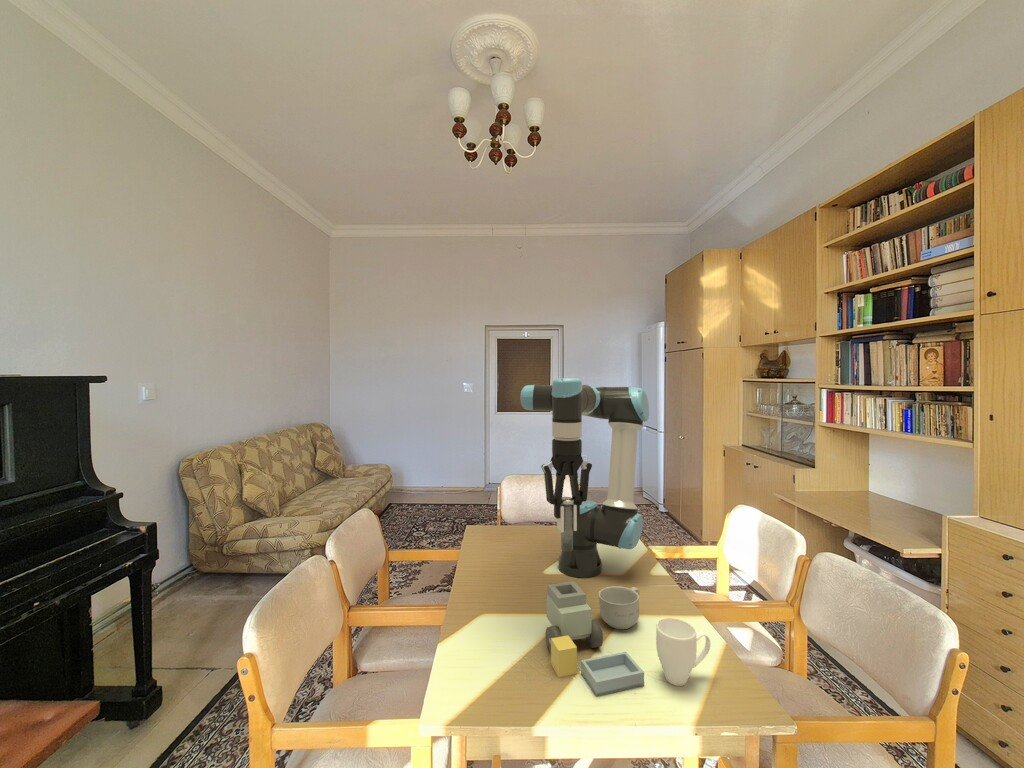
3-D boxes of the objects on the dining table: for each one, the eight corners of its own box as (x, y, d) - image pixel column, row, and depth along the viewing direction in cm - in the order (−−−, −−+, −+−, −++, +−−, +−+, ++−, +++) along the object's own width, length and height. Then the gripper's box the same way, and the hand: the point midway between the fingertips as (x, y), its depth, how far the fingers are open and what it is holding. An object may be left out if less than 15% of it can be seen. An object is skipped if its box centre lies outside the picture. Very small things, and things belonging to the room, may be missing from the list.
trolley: (582, 626, 116) (582, 579, 116) (602, 651, 105) (603, 600, 105) (538, 633, 113) (538, 585, 113) (554, 661, 102) (554, 608, 102)
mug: (667, 694, 91) (667, 640, 91) (649, 668, 99) (649, 618, 99) (720, 689, 92) (720, 636, 92) (698, 664, 101) (699, 615, 101)
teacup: (616, 638, 111) (616, 607, 110) (590, 618, 120) (590, 589, 120) (656, 624, 117) (656, 595, 117) (628, 606, 127) (628, 579, 127)
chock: (568, 660, 102) (568, 635, 102) (576, 673, 97) (576, 647, 97) (550, 663, 101) (550, 638, 101) (558, 677, 96) (558, 650, 96)
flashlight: (570, 545, 113) (570, 496, 113) (576, 551, 110) (576, 500, 109) (557, 547, 112) (557, 497, 112) (563, 553, 109) (562, 501, 108)
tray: (625, 664, 101) (625, 651, 101) (644, 685, 93) (644, 672, 93) (581, 673, 97) (581, 660, 97) (596, 696, 90) (596, 682, 90)
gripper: (588, 435, 116) (588, 522, 117) (532, 437, 112) (532, 527, 112) (601, 439, 109) (601, 531, 109) (542, 441, 105) (542, 538, 105)
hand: (566, 529), depth 111 cm, fingers closed on flashlight, 3 cm apart
